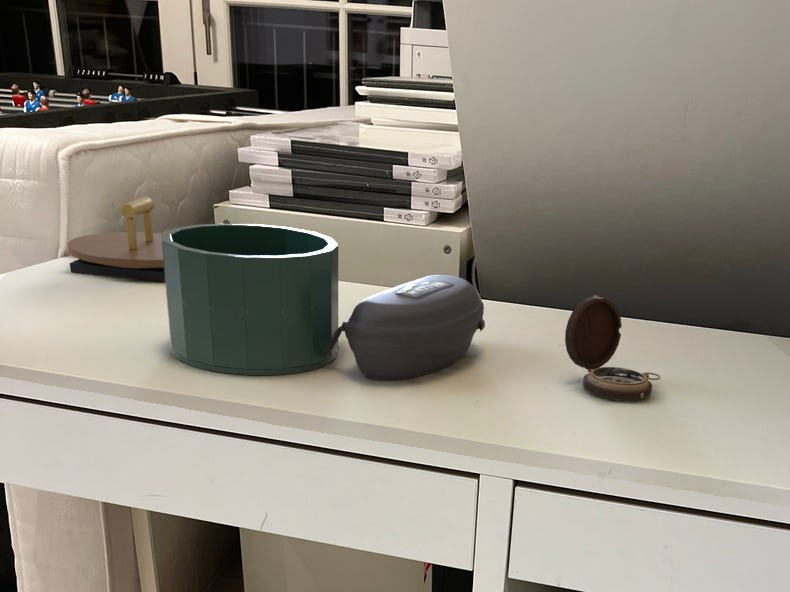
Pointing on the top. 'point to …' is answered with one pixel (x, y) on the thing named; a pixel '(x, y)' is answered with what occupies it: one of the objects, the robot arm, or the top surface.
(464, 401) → the top surface
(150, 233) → the lid
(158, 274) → the mat
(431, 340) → the glasses case
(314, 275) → the toy tin
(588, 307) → the compass
